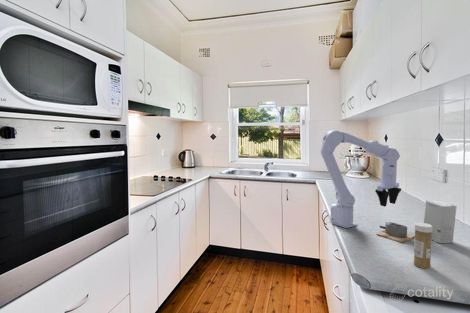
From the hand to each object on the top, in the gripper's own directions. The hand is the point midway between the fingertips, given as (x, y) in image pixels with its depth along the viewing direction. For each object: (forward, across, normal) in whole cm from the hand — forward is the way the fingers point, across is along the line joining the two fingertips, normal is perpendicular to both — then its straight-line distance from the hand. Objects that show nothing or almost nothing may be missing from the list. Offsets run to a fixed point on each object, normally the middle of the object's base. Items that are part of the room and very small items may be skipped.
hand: (387, 204), depth 117 cm
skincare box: (+10, +1, -19) cm, 22 cm away
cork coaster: (+10, -9, -8) cm, 16 cm away
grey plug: (+9, -9, -7) cm, 15 cm away
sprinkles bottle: (+10, -27, -25) cm, 38 cm away
